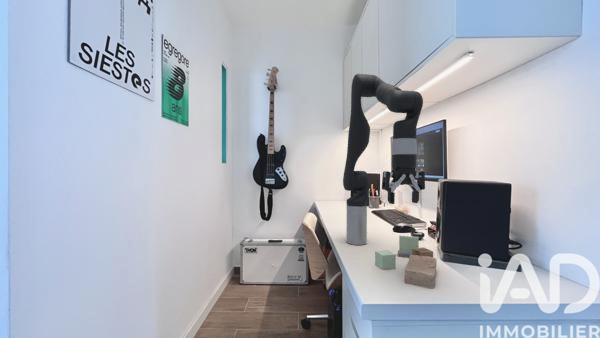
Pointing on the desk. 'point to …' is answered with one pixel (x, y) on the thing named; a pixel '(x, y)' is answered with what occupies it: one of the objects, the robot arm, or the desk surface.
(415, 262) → the brick
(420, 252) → the walnut block
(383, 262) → the green block
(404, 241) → the green and grey bar
